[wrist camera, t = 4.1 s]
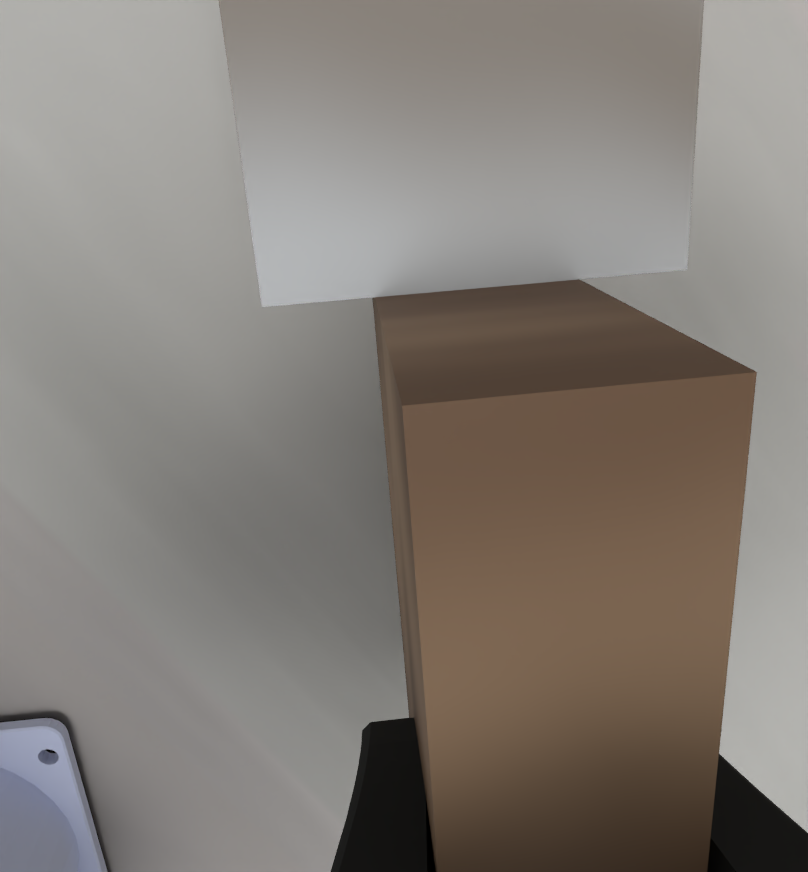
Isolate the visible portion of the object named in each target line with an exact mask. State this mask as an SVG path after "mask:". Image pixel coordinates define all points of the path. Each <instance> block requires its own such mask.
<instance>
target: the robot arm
mask: <svg viewBox="0 0 808 872" xmlns="http://www.w3.org/2000/svg"><path fill="white" fill-rule="evenodd" d="M45 749H49V750H53V751H55V752H56V753H50V752H48V751H46V750H45ZM0 872H107V868H106V865H105V861H104V858H103V854H102V851H101V847H100V843H99V840H98V836H97V833H96V829H95V826H94V822H93V819H92V815H91V812H90V808H89V804H88V801H87V797H86V794H85V790H84V787H83V783H82V780H81V776H80V773H79V769H78V766H77V762H76V758H75V755H74V751H73V748H72V744H71V741H70V737H69V734H68V730H67V729H66V727H65V725H64V724H62V723H61V722H60V721H58V720H55V719H52V718H40V719H30V720H20V721H11V722H1V723H0ZM331 872H432V867H431V855H430V842H429V829H428V817H427V804H426V793H425V786H424V779H423V772H422V766H421V759H420V752H419V746H418V739H417V733H416V726H415V720H414V717H413V718H404V719H395V720H386V721H378V722H370V723H369V724H368V725H367V726H366V727H365V728H364V729H363V730H362V745H361V753H360V759H359V766H358V771H357V776H356V781H355V786H354V790H353V794H352V798H351V802H350V806H349V810H348V815H347V818H346V822H345V825H344V829H343V832H342V835H341V839H340V842H339V845H338V849H337V852H336V856H335V859H334V862H333V866H332V869H331ZM707 872H808V833H807V832H806V831H805V830H804V829H802V828H801V827H800V826H799V825H798V824H797V823H796V822H794V821H793V820H792V819H791V818H790V817H789V816H788V815H786V814H785V813H784V812H783V811H782V810H781V809H780V808H778V807H777V806H776V805H775V804H774V803H773V802H772V801H770V800H769V799H768V798H767V797H766V796H765V795H764V794H763V793H761V792H760V791H759V790H758V789H757V788H756V787H755V786H754V785H752V784H751V783H750V782H749V781H748V780H747V779H746V778H745V777H744V776H743V775H741V774H740V773H739V772H738V771H737V770H736V769H735V768H734V767H733V766H732V765H731V764H730V763H728V762H727V761H726V760H725V759H724V758H723V757H722V756H721V755H720V754H719V757H718V767H717V777H716V787H715V797H714V807H713V817H712V828H711V838H710V848H709V858H708V868H707Z"/></svg>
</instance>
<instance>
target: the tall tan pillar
mask: <svg viewBox="0 0 808 872" xmlns="http://www.w3.org/2000/svg"><path fill="white" fill-rule="evenodd" d="M219 6H220V14H221V21H222V28H223V35H224V42H225V49H226V56H227V63H228V70H229V77H230V84H231V92H232V99H233V106H234V113H235V120H236V127H237V134H238V141H239V148H240V155H241V163H242V170H243V177H244V184H245V191H246V198H247V205H248V212H249V219H250V226H251V233H252V241H253V248H254V255H255V262H256V269H257V276H258V283H259V290H260V297H261V304H262V307H270V306H281V305H293V304H304V303H315V302H327V301H338V300H350V299H361V298H373V308H374V319H375V331H376V342H377V354H378V365H379V376H380V388H381V399H382V411H383V422H384V434H385V445H386V456H387V468H388V479H389V491H390V502H391V513H392V525H393V536H394V548H395V559H396V571H397V582H398V593H399V605H400V616H401V628H402V639H403V651H404V662H405V673H406V685H407V696H408V708H409V718H413V717H414V720H415V726H416V733H417V739H418V746H419V752H420V759H421V766H422V772H423V779H424V786H425V793H426V804H427V817H428V829H429V842H430V855H431V867H432V872H707V868H708V858H709V848H710V838H711V828H712V817H713V807H714V797H715V787H716V777H717V767H718V757H719V747H720V737H721V727H722V716H723V706H724V696H725V686H726V676H727V666H728V656H729V646H730V636H731V625H732V615H733V605H734V595H735V585H736V575H737V565H738V555H739V545H740V535H741V524H742V514H743V504H744V494H745V484H746V474H747V464H748V454H749V444H750V434H751V423H752V413H753V403H754V393H755V383H756V373H757V372H755V371H754V370H752V369H750V368H748V367H746V366H744V365H742V364H740V363H738V362H736V361H734V360H732V359H731V358H729V357H727V356H725V355H723V354H721V353H719V352H717V351H715V350H713V349H711V348H709V347H708V346H706V345H704V344H702V343H700V342H698V341H696V340H694V339H692V338H690V337H688V336H686V335H685V334H683V333H681V332H679V331H677V330H675V329H673V328H671V327H669V326H667V325H665V324H663V323H662V322H660V321H658V320H656V319H654V318H652V317H650V316H648V315H646V314H644V313H642V312H640V311H639V310H637V309H635V308H633V307H631V306H629V305H627V304H625V303H623V302H621V301H619V300H617V299H616V298H614V297H612V296H610V295H608V294H606V293H604V292H602V291H600V290H598V289H596V288H594V287H593V286H591V285H589V284H587V283H585V282H583V281H581V280H579V279H590V278H601V277H613V276H624V275H636V274H647V273H658V272H670V271H681V270H687V267H688V251H689V234H690V218H691V202H692V186H693V170H694V153H695V137H696V121H697V105H698V88H699V72H700V56H701V40H702V24H703V7H704V0H219Z"/></svg>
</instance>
